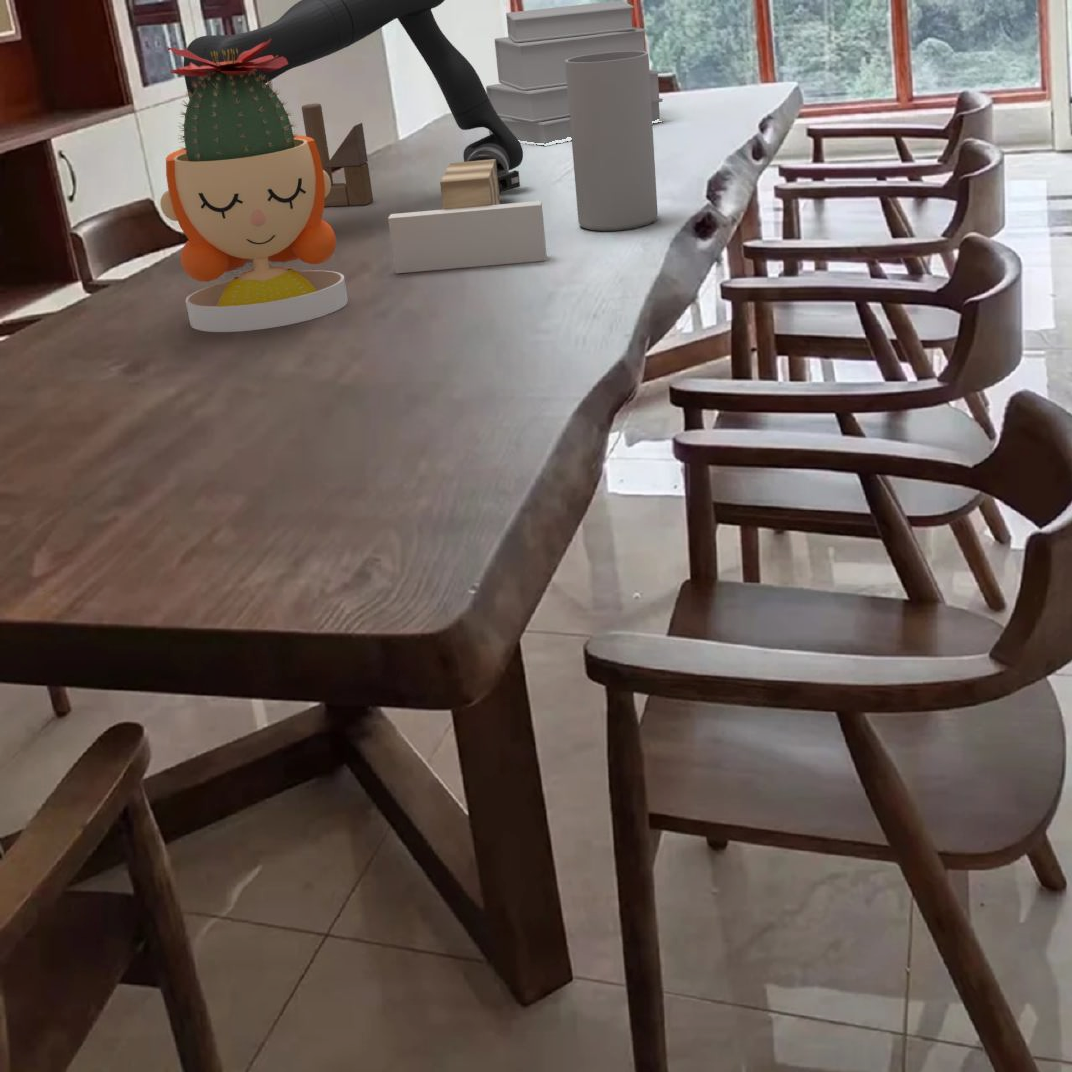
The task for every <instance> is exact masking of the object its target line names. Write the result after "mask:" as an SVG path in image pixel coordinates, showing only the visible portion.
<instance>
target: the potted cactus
mask: <svg viewBox="0 0 1072 1072" xmlns="http://www.w3.org/2000/svg"><path fill="white" fill-rule="evenodd" d="M270 43H271V39H269V40H268V41H267V42H263V43H261V44H259V45H257V46H256V47H254V48H253V49H251V50H248V51H244V52H243V53H241V54H240V55H239V57H238V59H237V60H236V61H235V56H234V62H233V56H232V61H226V62H225V60H224V62H219V61H218V60H217V61H218V63H215V62H211V61H209V60H206V59H203V58H200V57H198V56H196V55H195V54H193V53H192V52H190V51H188V50H187V48H185V49H179V48H176V47H169V46H168V47H167V49H166V51H167V52H168V51H172V53H173V54H174V55H176V56H180V57H183V58H184V57H186V58H190V59H194V60H196V61H198V62H200V63H203V64H205V65H208V66H204V65H203V66H200V67H198V66H196V65H195V64H193V63H191V62H190V65H189V66H186V67H184V66H181V67H178V68H177V69H171V70H170V73H172V74H174V75H175V74H176V75H180V76H184V75H186V76H201V77H198V78H201V80H202V82H201V83H200V84H199V83H198V82H197V83H198V84H199V85H198V86H197V84H196V83H194V82H195V81H194V82H193V81H192V82H193V83H194V86H195V88H196V89H195V91H194V92H193V94H192V95H191V92H188V91H186V92H185V91H184V93H185V94H184V95H185V96H187V97H188V98H189V97H190V96H191V98H190V100H189V99H188V103H187V102H186V101H185V100H182V102H183V103H184V104H183V103H182V102H181V104H180V105H182V106H183V107H184V108H186V110H185V112H184V111H183V110H180V109H179V110H178V111H179V114H178V115H180V118H184V121H183V123H181V122H177V124H181V126H182V127H181V126H180V125H177V126H178V128H179V129H182V130H180V132H183V135H180V134H178V136H179V137H177V138H178V139H177V140H182V141H179V142H178V143H184V146H185V147H183V146H181V148H180V149H178V150H176V151H173V152H171V153H169V154H168V155H167V156H166V157H165V177H166V182H167V190H166V191H165V192H164V193H162V195H161V198H160V204H159V205H160V208H161V211H162V213H163V214H164V216H165V217H166V218H167V219H169V220H170V221H172V222H173V221H174V222H177V223H178V224H179V227H180V229H181V230H182V231H183V232H182V233H184V235H185V236H186V238H187V239H188V240H187V241H186V242H185V244H184V245H183V247H182V249H181V253H180V264H181V267H182V269H183V271H184V272H185V273H186V274H187V275H188V276H189V277H190V278H191V279H192V280H195V281H198V282H206V283H207V282H211V281H216V280H217V279H219V278H220V277H222V276H223V275H224V274H225V273H227V272H231V271H232V272H233V271H235V270H238V269H240V268H242V267H244V266H245V265H246V264H247V263H249V261H250V260H252V264H253V269H251V270H248V271H245V272H243V273H242V274H240V275H239V276H235V277H233V279H231V280H228V281H224V282H220V283H217V284H213V285H209V286H206V287H205V288H202V289H199V290H197V291H195V292H192V293H190V294H189V295H187V296H186V298H185V305H186V311H187V314H188V320H189V324H190V325H189V326H190V327H191V329H192V328H193V329H195V330H197V331H201V332H209V333H210V332H211V333H234V332H235V333H236V332H246V331H247V332H248V331H255V330H256V331H257V330H265V329H271V328H278V327H283V326H289V325H293V324H294V325H295V324H299V323H302V322H306V321H310V320H314V319H317V318H318V319H319V318H320V317H325V316H327V315H330V314H332V313H334V312H337V311H338V310H341V309H342V308H344V307H345V306H347V304H348V301H349V300H348V294H347V293H348V292H347V287H346V282H345V281H346V280H345V276H344V274H342V273H341V272H337V271H332V270H323V269H321V270H319V269H318V270H315V269H312V270H311V269H310V270H308V269H307V270H306V269H304V270H295V269H294V268H284V267H282V266H270V262H274V263H283V262H291V261H296V260H299V259H300V261H302V262H303V263H306V264H309V265H319V264H323V263H325V262H327V261H328V260H330V259H331V257H332V256H333V255H334V253H335V250H336V247H337V237H336V234H335V231H334V230H333V228H332V227H331V225H330V224H329V223H328V222H326V220H324V219H322V217H323V213H324V210H325V207H324V206H325V197H327V195H328V194H329V192H330V189H331V180H330V177H329V175H328V174H327V173H326V172H325V171H324V170H323V169H322V164H321V159H320V155H319V152H318V149H317V146H316V143H315V140H313V139H312V138H310V137H307V136H306V135H300V133H295V131H293V129H292V128H298V126H297V124H295V123H296V121H294V120H292V119H293V115H294V113H293V112H290V109H289V110H288V109H285V107H284V106H285V105H287V101H286V100H287V99H285V97H283V98H279V97H278V95H280V94H281V89H279V88H277V89H276V88H274V89H272V88H270V87H271V86H273V85H274V84H273V82H272V80H271V81H269V82H268V81H267V83H266V84H265V83H264V82H263V81H262V80H264V77H265V76H263V77H262V75H261V76H260V75H259V76H258V77H259V78H258V77H256V76H255V75H256V74H255V73H254V72H253V71H255V70H256V68H257V70H258V69H260V70H263V71H268V72H270V71H274V70H277V69H280V68H282V67H284V66H285V65H288V62H287V59H286V58H284V57H283V56H282V57H279V58H278V55H277V56H276V57H275V58H274V57H273V56H272V55H268V56H264V57H260V58H257V59H254V60H252V61H249V62H246V61H248V60H250V59H252V58H254V57H255V56H257V55H259V54H260V53H261V52H262V51H264V50H265V49H266V48H267V47H268V46H269V44H270ZM236 51H237V54H238V50H237V48H236ZM213 53H214V57H216V56H217V58H216V59H218V53H217V52H216V54H215V52H213ZM227 53H228V58H229V50H227ZM231 53H232V49H231ZM222 54H224V55H225V57H226V53H225V51H224V52H223V49H222ZM233 54H235V53H234V50H233ZM224 55H223V57H224ZM211 56H212V52H211ZM212 59H213V58H212ZM216 59H215V60H216ZM213 61H214V60H213ZM217 61H216V62H217ZM253 68H255V69H253ZM206 71H211V72H213V73H212V74H210V75H209V76H208V75H207V74H208V73H210V72H206ZM214 72H215V73H214ZM252 72H253V73H252ZM254 74H255V75H254ZM205 75H206V76H207V77H206V76H205ZM203 76H205V77H206V78H205V77H203ZM203 78H204V79H203ZM262 78H263V79H262ZM265 79H266V78H265ZM197 80H198V79H197ZM199 82H200V81H199ZM195 84H196V85H195ZM192 85H193V84H192ZM192 87H193V86H192ZM275 89H276V90H275ZM186 90H188V89H187V88H186ZM193 90H194V89H193ZM189 91H190V90H189ZM188 93H189V94H188ZM289 117H291V118H290V119H289ZM291 120H292V121H291Z"/></svg>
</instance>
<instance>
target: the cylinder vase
mask: <svg viewBox="0 0 1072 1072" xmlns="http://www.w3.org/2000/svg"><path fill="white" fill-rule="evenodd" d="M644 51H645V50H644ZM644 51H621V52H608V53H598V54H591V55H584V56H578V57H574V58H570V59H567V60H565V65H566V78H567V90H568V102H569V114H570V126H571V138H572V141H571V147H572V148H571V149H572V159H573V160H572V161H573V173H574V185H575V197H576V198H575V199H576V206H577V207H576V211H577V221H578V224H579V225H580V226H581V228H583V229H586V230H590V231H597V232H610V231H611V232H615V231H626V230H632V229H636V228H642V227H644V226H647V225H650V224H652V223H653V222H654V221H656V220H657V218H658V215H659V213H658V199H657V198H658V197H657V180H656V164H655V150H654V149H655V144H654V131H653V130H654V129H653V124H652V109H651V92H650V75H649V70H650V62H649V61H650V59H649V58H650V57H649V52H648V51H645V52H644Z"/></svg>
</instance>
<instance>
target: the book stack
mask: <svg viewBox="0 0 1072 1072" xmlns="http://www.w3.org/2000/svg"><path fill="white" fill-rule="evenodd" d="M634 8H635V7H634V5H632V4H629V3H628V2H625V1H623V0H616V1H615V0H613V1H612V0H611V1H604V2H594V3H587V4H585V3H584V4H575V5H568V6H567V5H566V6H560V7H559V6H557V7H556V6H555V7H549V8H539V9H529V10H521V11H511V12H505V17H506V26H507V36H505V37H499V38H498V37H497V38H496V37H495V38H494V47H495V56H496V57H495V58H496V59H495V60H496V67H497V68H496V69H497V78H498V83H497V84H489V85H486V87H485V91H486V93H487V96H488V99H489V100H490V102H491V104H492V106H493V108H494V110H495V111H496V113H497V114H498V116H499V117H500V119H501V120H502V121H503V122H504V124H505V125H506V126H507V127H508V128H509V130H510V131H511V132H512V133H513V134H514V135H515V137H516V138H517V139H518V140H520V141H527V142H534V143H544V144H546V143H549V142H552V141H555V140H562V139H566V138H567V137H571V126H570V114H569V102H568V90H567V78H566V65H565V60H567V59H570V58H574V57H578V56H584V55H591V54H598V53H608V52H621V51H644V52H646V50H645V38H644V37H645V36H644V35H645V34H644V32H646V31H647V28H641V27H635V26H633V22H632V19H633V17H632V9H634ZM659 74H662V71H660V70H650V69H649V75H650V92H651V109H652V121H655V120H657V119H660V120H661V118H660V117H661V116H660V114H661V113H660V103H661V102H663V101H664V98H661V97H660V87H659ZM488 133H489V135H491V134H493V133H492V132H491V131H490V130H489V129H488ZM489 135H488V136H489Z"/></svg>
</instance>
